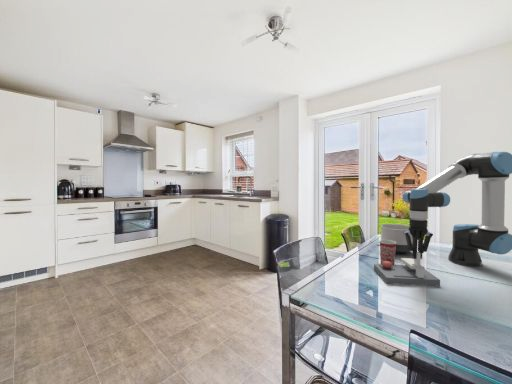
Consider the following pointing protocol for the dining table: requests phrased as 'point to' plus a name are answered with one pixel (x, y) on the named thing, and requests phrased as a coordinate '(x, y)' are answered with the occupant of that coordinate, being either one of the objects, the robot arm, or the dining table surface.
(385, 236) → the planter
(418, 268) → the slider
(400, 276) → the panel
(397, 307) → the dining table surface
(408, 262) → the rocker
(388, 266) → the button
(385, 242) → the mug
